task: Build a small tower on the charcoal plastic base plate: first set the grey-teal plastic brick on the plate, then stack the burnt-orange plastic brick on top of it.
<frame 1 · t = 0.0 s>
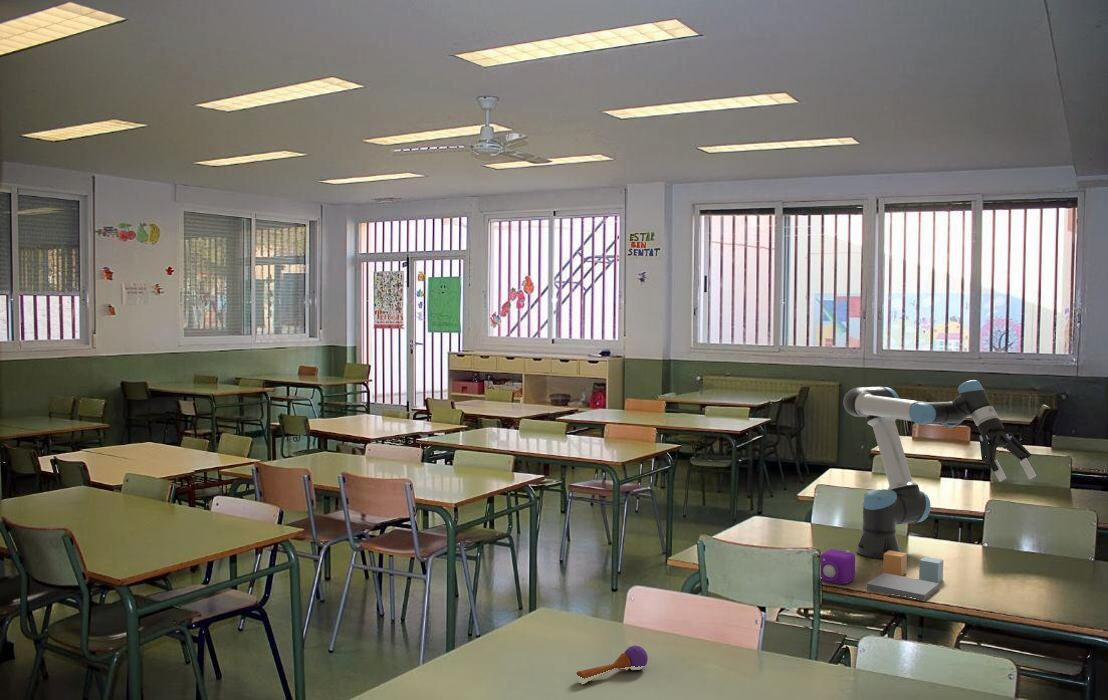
hand: (1018, 478, 294), 36 cm above the table, tool tilted 35°, fingers open, 13 cm apart
purple and brown microphone: (613, 676, 218), on the table
toy camera: (835, 582, 299), on the table
base plate: (902, 589, 291), on the table
orange brick: (894, 573, 309), on the table
teal brick: (930, 580, 302), on the table
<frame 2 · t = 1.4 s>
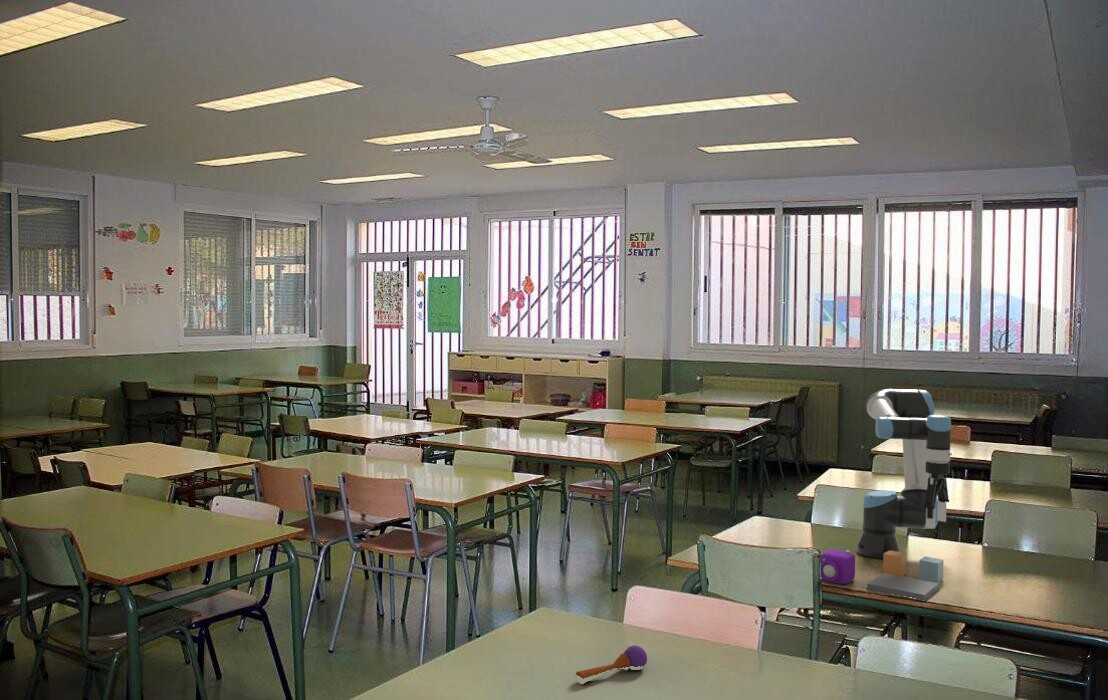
hand: (935, 524, 301), 19 cm above the table, tool pointing down, fingers open, 13 cm apart
nothing on the table moved.
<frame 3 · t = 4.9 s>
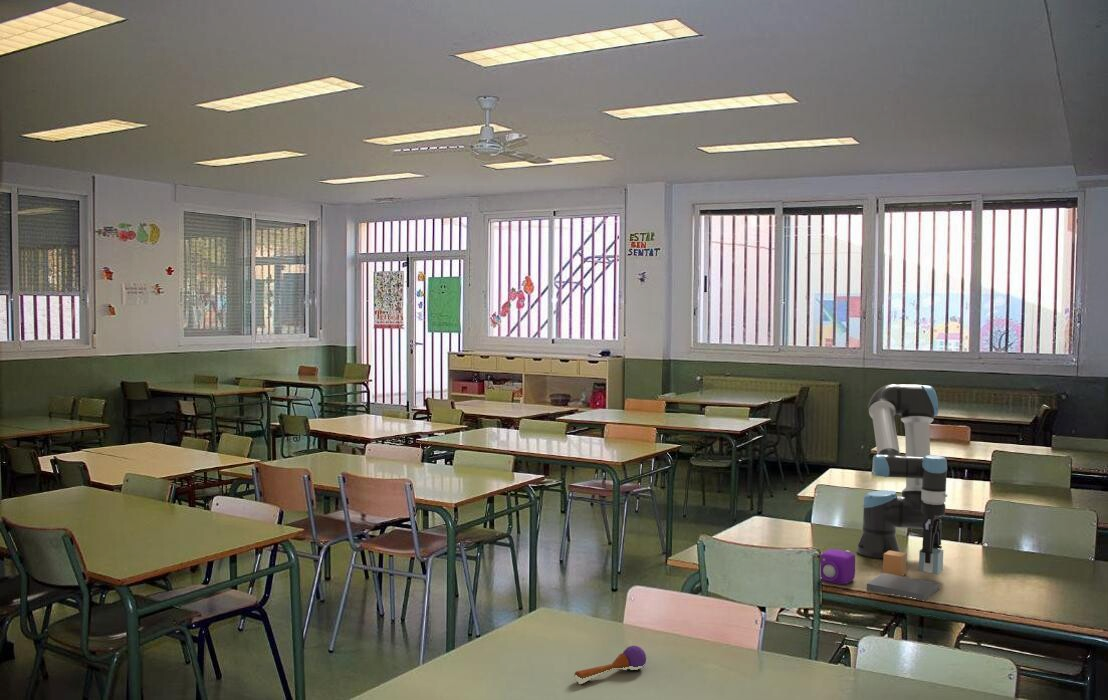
hand: (930, 569, 302), 3 cm above the table, tool pointing down, fingers closed on teal brick, 6 cm apart
teal brick: (930, 570, 302), point 3 cm above the table, touching gripper
everything else where it was.
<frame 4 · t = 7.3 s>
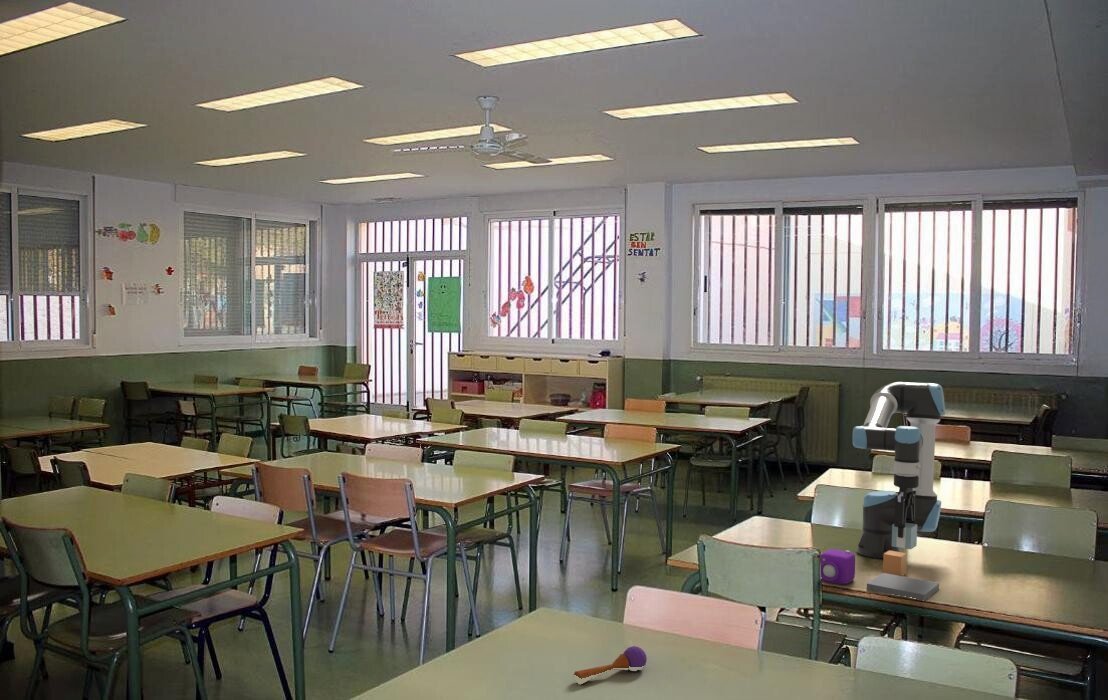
hand: (904, 545, 290), 15 cm above the table, tool pointing down, fingers closed on teal brick, 6 cm apart
teal brick: (904, 546, 290), point 14 cm above the table, touching gripper
everything else where it was.
when the fingers open (3 cm above the table, at t = 9.7 s): teal brick stays where it is, resting on base plate.
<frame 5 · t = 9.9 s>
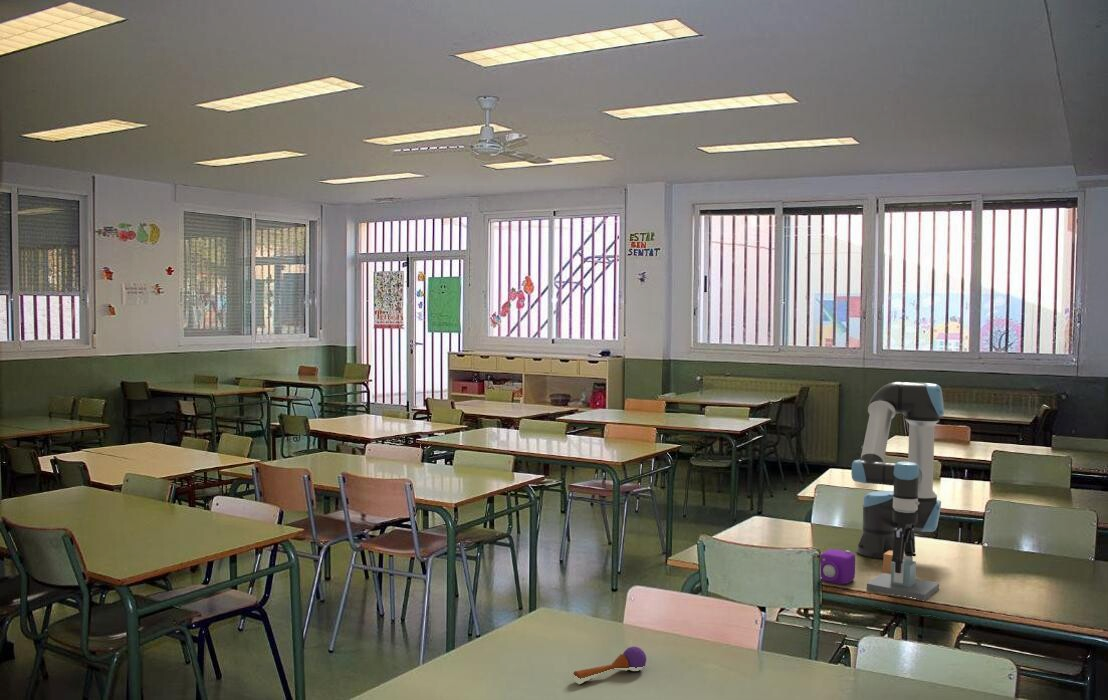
hand: (903, 579, 291), 3 cm above the table, tool pointing down, fingers open, 9 cm apart
teal brick: (903, 583, 291), point 2 cm above the table, touching base plate
everything else where it was.
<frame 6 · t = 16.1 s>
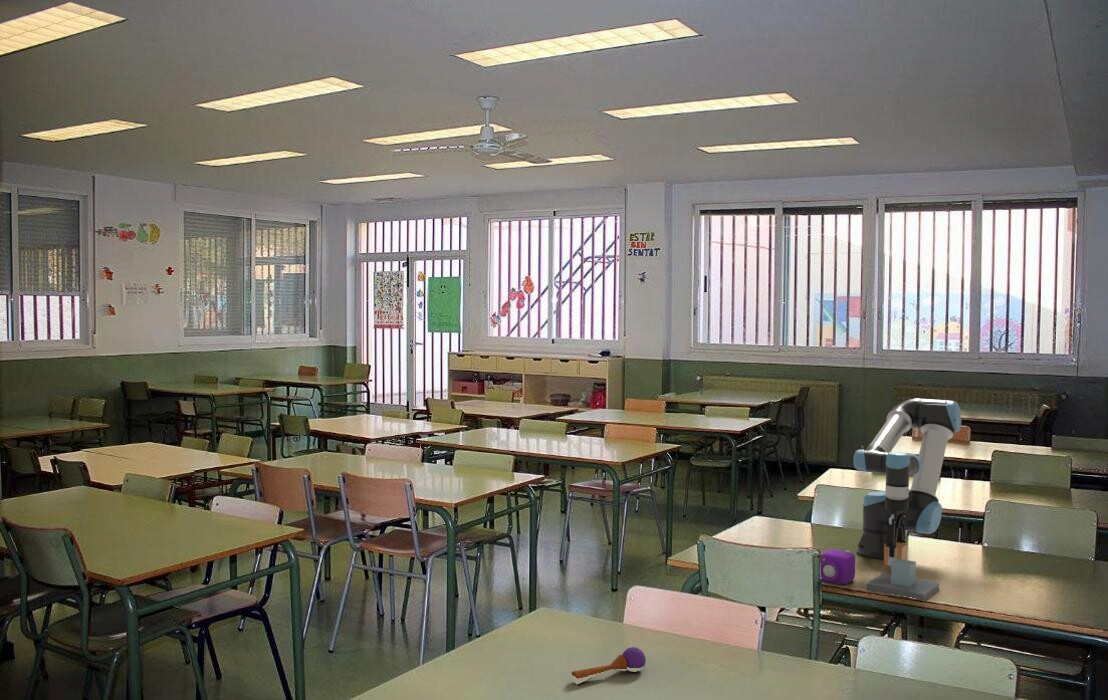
hand: (895, 563, 309), 3 cm above the table, tool pointing down, fingers closed on orange brick, 6 cm apart
orange brick: (895, 564, 309), point 3 cm above the table, touching gripper
when the fingers open (10 cm above the table, at t = 20.8 s): orange brick stays where it is, resting on teal brick.
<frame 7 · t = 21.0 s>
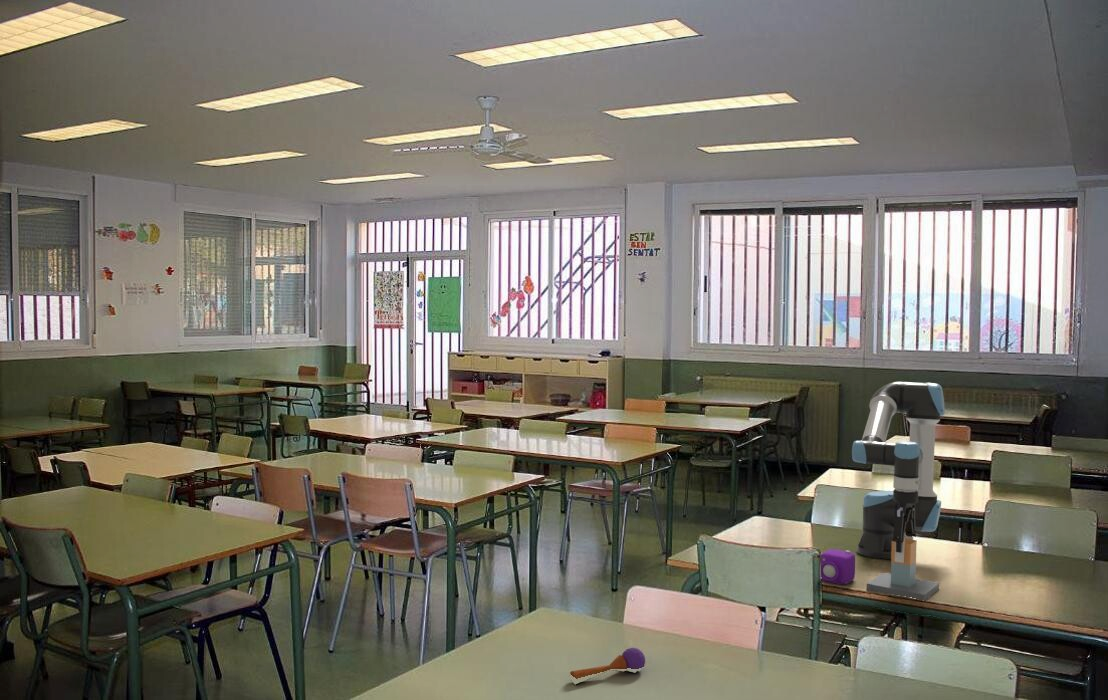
hand: (903, 558, 290), 10 cm above the table, tool pointing down, fingers open, 8 cm apart
orange brick: (903, 562, 291), point 9 cm above the table, touching teal brick
teal brick: (903, 583, 291), point 2 cm above the table, touching base plate, orange brick
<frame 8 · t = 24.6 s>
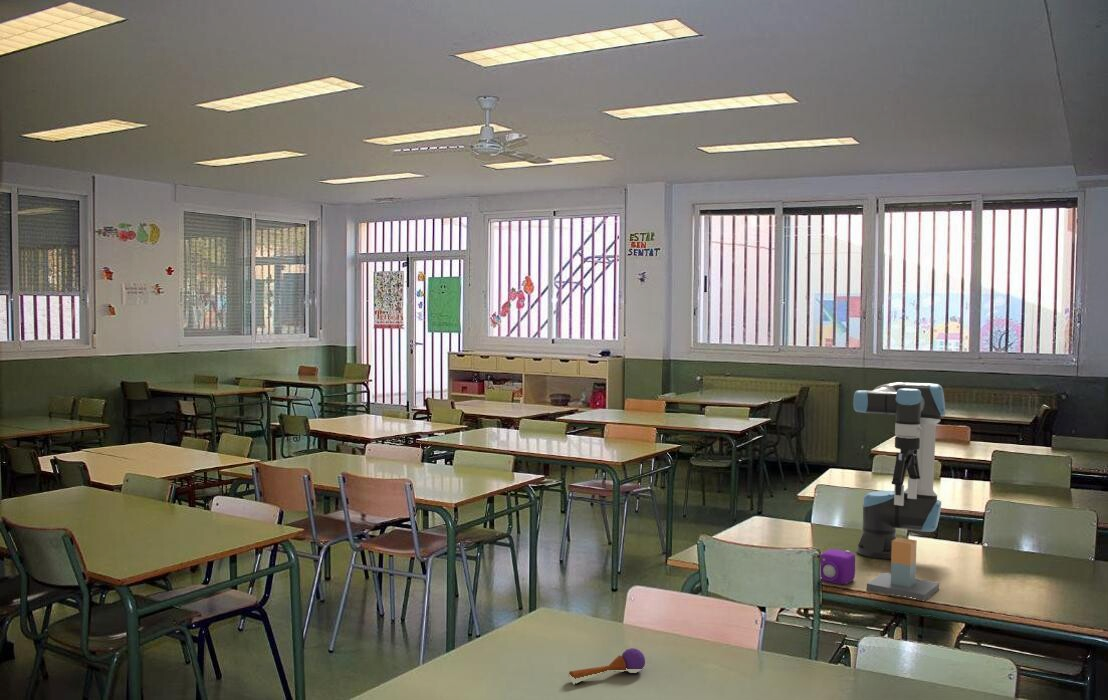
hand: (905, 501, 290), 29 cm above the table, tool pointing down, fingers open, 13 cm apart
at the end: teal brick inside the target area on the base plate (0.1 cm from its centre), point 2.0 cm above the base plate's base; orange brick 0.0 cm off-centre on the teal brick, point 7.0 cm above the teal brick's base; orange brick tilted 0° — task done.
